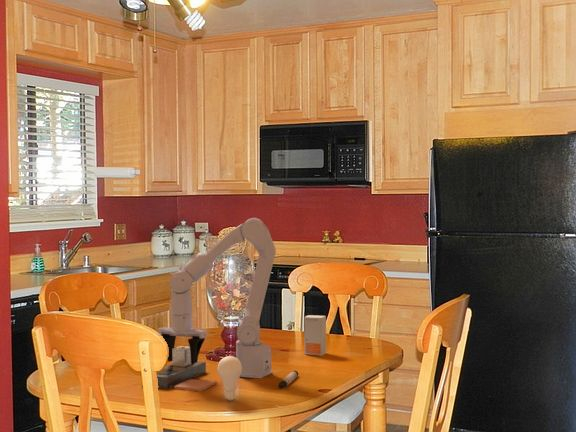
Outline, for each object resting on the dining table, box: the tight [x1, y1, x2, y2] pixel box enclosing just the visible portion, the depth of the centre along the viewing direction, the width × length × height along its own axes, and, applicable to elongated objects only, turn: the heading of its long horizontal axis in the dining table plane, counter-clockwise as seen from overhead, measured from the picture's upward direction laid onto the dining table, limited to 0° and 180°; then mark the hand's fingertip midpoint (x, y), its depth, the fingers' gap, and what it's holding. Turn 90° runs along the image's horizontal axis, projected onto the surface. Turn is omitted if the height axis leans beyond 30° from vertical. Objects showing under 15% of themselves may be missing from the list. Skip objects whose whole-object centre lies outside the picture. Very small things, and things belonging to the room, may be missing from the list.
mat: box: [173, 378, 217, 392], centre depth 209 cm, size 8×8×1 cm
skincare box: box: [303, 314, 327, 357], centre depth 248 cm, size 6×4×12 cm
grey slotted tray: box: [157, 360, 207, 390], centre depth 218 cm, size 8×20×3 cm, turn 156°
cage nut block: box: [172, 345, 192, 368], centre depth 221 cm, size 4×4×8 cm
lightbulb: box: [216, 355, 242, 401], centre depth 195 cm, size 6×6×11 cm
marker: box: [278, 370, 299, 389], centre depth 212 cm, size 15×2×2 cm, turn 164°
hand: (182, 362), depth 221 cm, fingers open, 7 cm apart
